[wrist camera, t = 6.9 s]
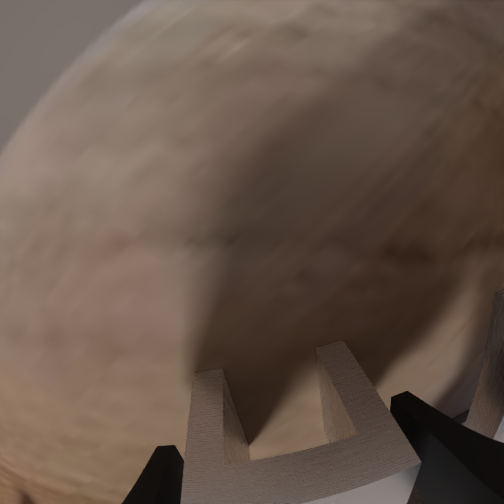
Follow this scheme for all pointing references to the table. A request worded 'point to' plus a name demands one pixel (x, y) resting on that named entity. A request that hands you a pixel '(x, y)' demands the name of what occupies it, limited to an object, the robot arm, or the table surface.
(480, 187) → the table surface
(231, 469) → the bracket
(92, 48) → the table surface
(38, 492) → the table surface
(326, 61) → the table surface
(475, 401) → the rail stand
